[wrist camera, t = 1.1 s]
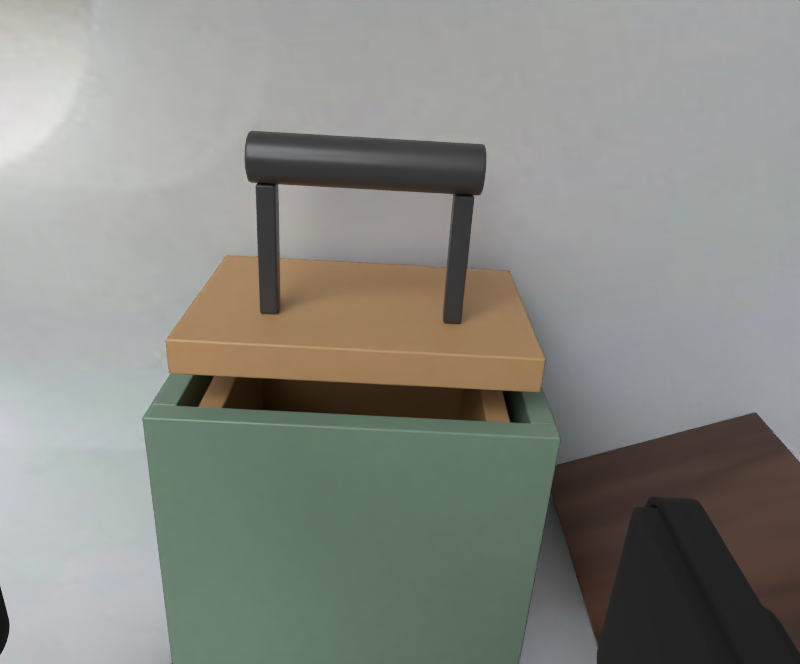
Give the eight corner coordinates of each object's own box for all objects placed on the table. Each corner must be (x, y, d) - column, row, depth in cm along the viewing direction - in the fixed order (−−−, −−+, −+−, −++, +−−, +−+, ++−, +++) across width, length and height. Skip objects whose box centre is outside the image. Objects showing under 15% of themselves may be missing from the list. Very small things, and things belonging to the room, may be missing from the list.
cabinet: (219, 296, 29) (141, 417, 20) (514, 312, 29) (561, 438, 21) (235, 558, 35) (180, 737, 27) (478, 569, 36) (503, 750, 27)
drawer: (217, 104, 25) (144, 141, 18) (529, 122, 25) (578, 166, 18) (240, 520, 33) (196, 658, 26) (475, 531, 33) (494, 671, 26)
